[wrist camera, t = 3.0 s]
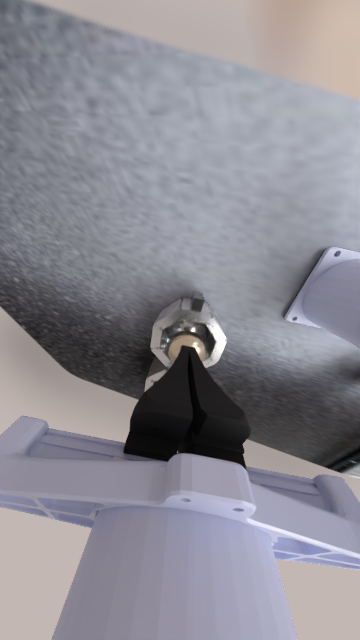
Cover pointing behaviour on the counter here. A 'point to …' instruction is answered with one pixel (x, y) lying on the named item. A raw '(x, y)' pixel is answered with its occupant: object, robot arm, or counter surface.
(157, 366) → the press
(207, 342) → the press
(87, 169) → the counter surface
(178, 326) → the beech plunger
